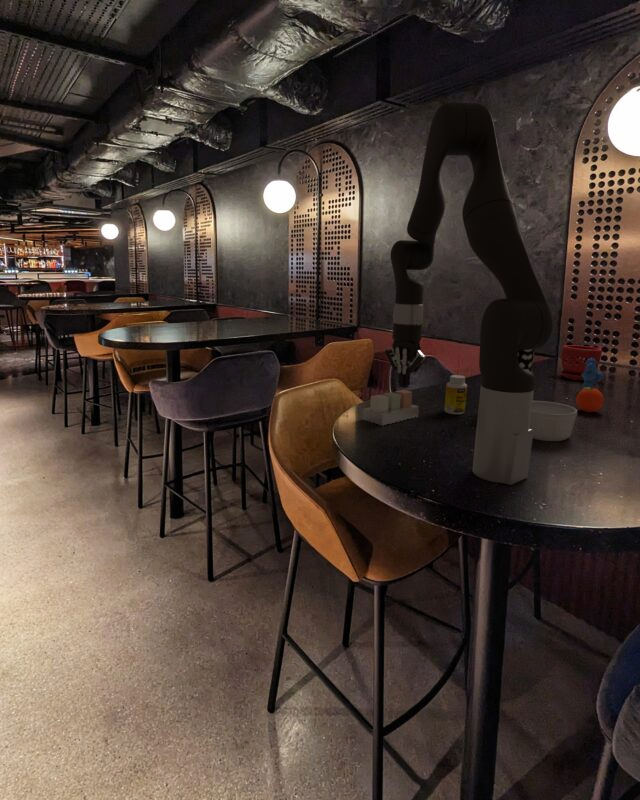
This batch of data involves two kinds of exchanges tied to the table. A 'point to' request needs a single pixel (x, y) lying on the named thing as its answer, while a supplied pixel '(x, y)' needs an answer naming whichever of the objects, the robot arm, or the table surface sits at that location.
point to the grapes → (591, 374)
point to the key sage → (393, 400)
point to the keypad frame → (390, 415)
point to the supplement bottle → (455, 395)
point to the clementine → (589, 399)
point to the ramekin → (551, 420)
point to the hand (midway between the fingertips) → (403, 387)
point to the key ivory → (379, 403)
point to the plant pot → (577, 360)
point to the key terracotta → (405, 398)
